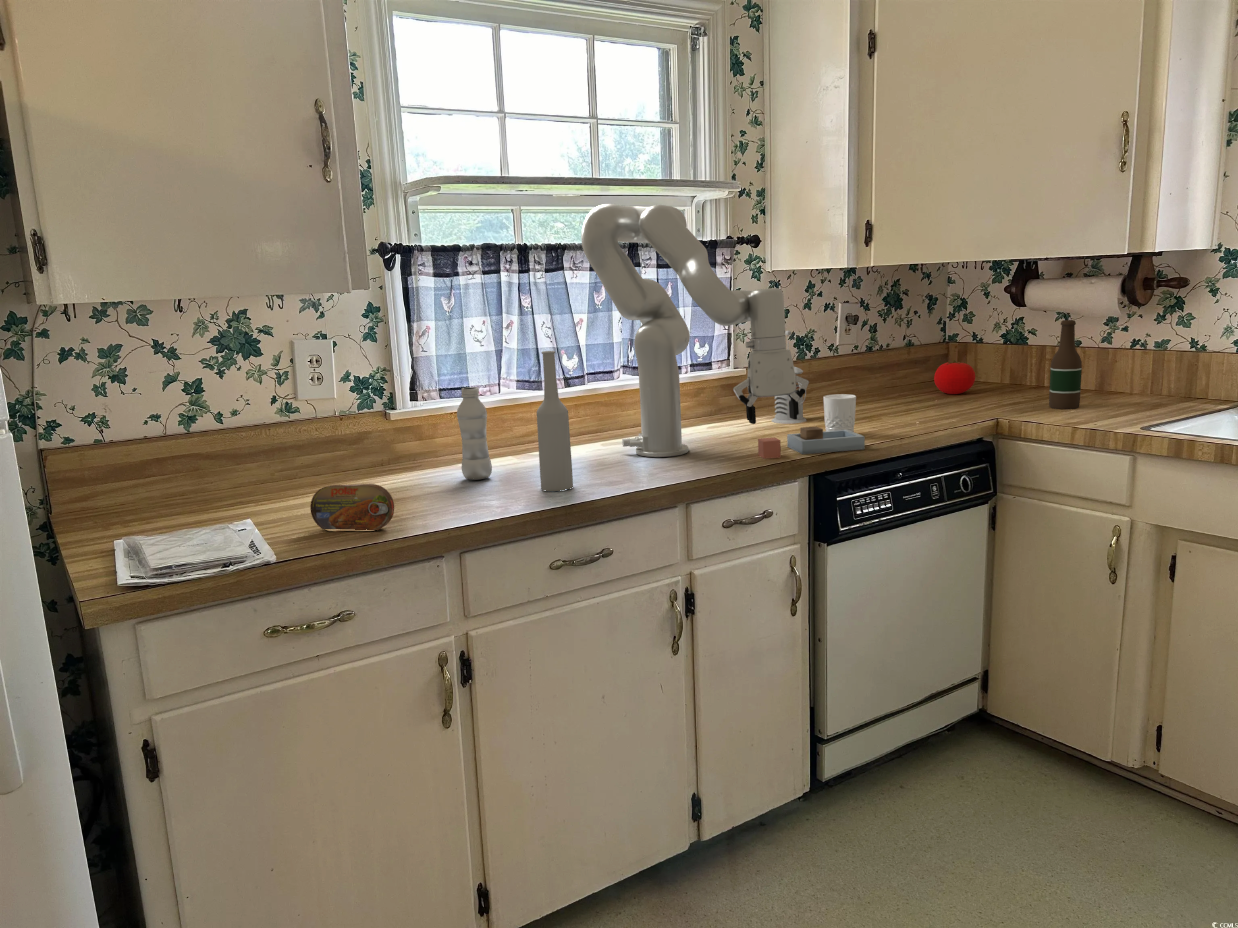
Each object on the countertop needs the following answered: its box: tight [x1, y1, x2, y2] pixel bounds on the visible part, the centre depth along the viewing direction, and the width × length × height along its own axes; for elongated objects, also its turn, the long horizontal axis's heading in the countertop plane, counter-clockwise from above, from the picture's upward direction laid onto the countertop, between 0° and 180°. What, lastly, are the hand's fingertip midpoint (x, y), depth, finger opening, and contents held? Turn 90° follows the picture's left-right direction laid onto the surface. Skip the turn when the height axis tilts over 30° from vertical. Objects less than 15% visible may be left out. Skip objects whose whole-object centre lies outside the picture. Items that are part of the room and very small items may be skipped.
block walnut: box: [799, 426, 824, 440], centre depth 212 cm, size 4×4×4 cm
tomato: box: [933, 360, 976, 395], centre depth 287 cm, size 11×12×10 cm
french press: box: [771, 330, 807, 425], centre depth 250 cm, size 10×12×25 cm
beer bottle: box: [1048, 319, 1083, 410], centre depth 250 cm, size 8×8×24 cm
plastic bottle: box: [456, 386, 493, 481], centre depth 196 cm, size 6×7×20 cm
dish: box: [786, 430, 866, 455], centre depth 213 cm, size 15×10×3 cm, turn 99°
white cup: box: [823, 393, 857, 433], centre depth 226 cm, size 8×8×10 cm
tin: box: [309, 483, 395, 531], centre depth 161 cm, size 15×3×8 cm, turn 80°
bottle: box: [536, 350, 574, 492], centre depth 183 cm, size 7×7×28 cm
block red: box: [757, 436, 782, 460], centre depth 207 cm, size 4×4×4 cm
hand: (773, 420), depth 205 cm, fingers open, 9 cm apart
